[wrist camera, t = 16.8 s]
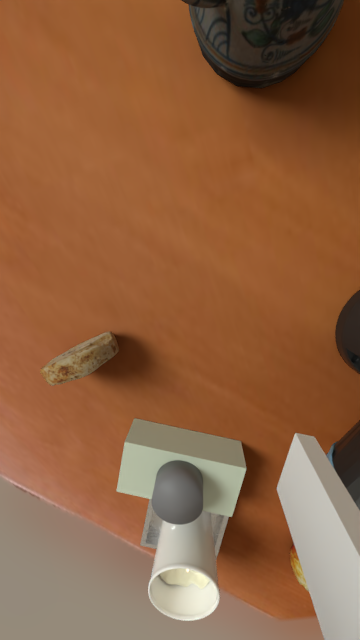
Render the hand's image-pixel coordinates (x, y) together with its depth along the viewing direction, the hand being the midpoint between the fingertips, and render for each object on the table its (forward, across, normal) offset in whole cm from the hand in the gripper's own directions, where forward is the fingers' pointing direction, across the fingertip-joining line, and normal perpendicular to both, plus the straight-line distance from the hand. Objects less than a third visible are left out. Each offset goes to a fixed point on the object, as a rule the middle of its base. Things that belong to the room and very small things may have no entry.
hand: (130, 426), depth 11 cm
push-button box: (+31, -5, +26) cm, 40 cm away
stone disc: (+31, +12, +10) cm, 35 cm away
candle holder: (+30, -8, +37) cm, 49 cm away
